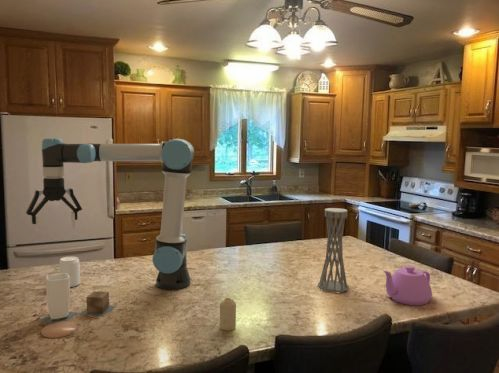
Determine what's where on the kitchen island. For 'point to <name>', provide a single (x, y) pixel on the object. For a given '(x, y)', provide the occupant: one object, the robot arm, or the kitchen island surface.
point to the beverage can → (71, 269)
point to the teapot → (409, 286)
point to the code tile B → (98, 313)
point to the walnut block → (97, 302)
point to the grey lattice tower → (334, 252)
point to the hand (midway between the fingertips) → (55, 230)
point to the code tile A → (49, 320)
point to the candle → (227, 314)
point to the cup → (58, 295)
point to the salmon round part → (59, 329)
